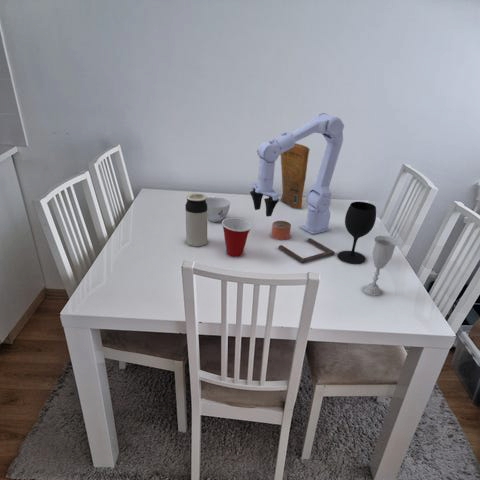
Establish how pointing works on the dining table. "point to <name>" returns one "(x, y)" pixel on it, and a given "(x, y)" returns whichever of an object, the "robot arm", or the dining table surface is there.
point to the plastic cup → (235, 235)
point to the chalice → (380, 259)
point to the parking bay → (304, 260)
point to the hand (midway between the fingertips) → (262, 212)
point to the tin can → (281, 230)
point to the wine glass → (358, 228)
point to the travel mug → (196, 219)
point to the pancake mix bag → (294, 174)
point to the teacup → (217, 208)
